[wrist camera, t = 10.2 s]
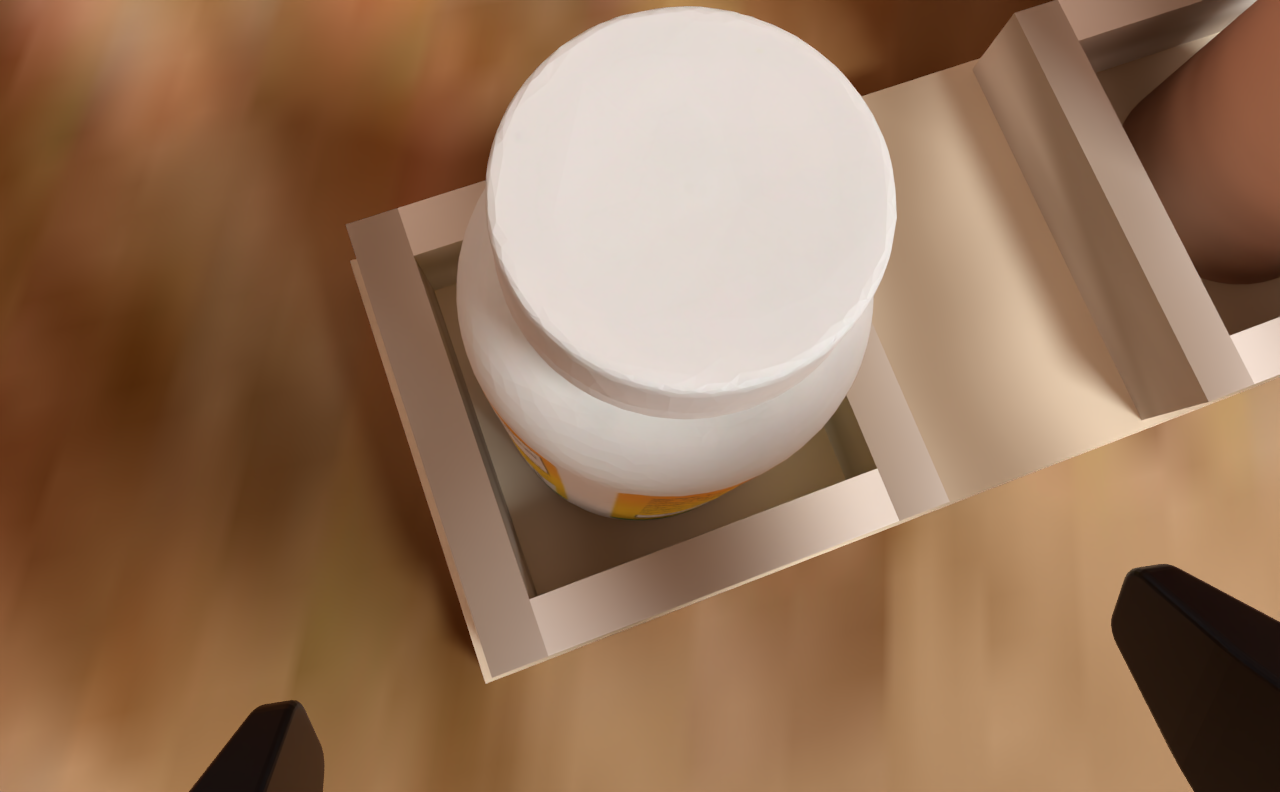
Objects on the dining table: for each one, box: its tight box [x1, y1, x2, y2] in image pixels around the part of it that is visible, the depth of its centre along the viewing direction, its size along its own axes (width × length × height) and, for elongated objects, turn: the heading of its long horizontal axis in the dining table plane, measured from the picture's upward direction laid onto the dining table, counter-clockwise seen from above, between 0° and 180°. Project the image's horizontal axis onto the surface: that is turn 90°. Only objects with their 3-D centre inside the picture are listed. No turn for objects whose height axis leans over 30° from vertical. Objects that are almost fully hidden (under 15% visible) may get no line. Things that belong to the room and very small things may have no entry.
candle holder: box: [346, 0, 1280, 683], centre depth 14 cm, size 24×9×11 cm, turn 110°
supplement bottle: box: [456, 6, 897, 521], centre depth 13 cm, size 5×5×10 cm
